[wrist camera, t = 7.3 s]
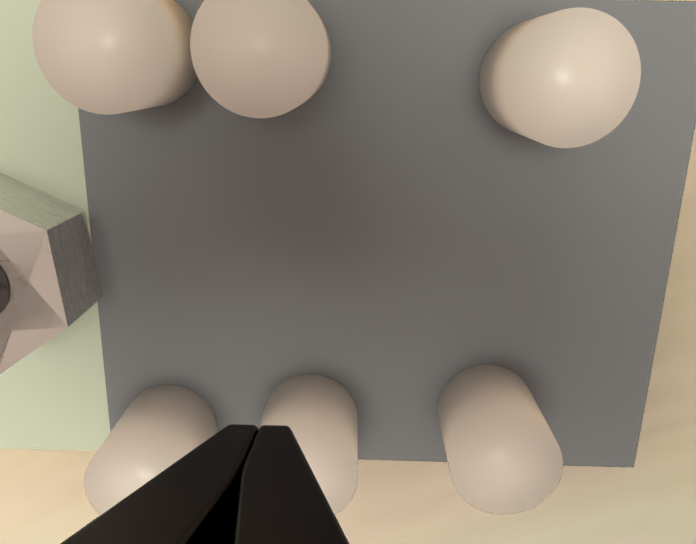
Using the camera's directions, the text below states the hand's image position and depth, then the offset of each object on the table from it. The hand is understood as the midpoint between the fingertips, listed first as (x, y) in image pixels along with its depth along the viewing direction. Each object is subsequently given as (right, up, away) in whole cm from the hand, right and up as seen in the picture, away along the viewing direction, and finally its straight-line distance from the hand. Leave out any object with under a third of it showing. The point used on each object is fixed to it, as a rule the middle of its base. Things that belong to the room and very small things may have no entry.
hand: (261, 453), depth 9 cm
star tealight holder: (-9, +3, +10) cm, 14 cm away
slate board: (-1, +3, +11) cm, 12 cm away
